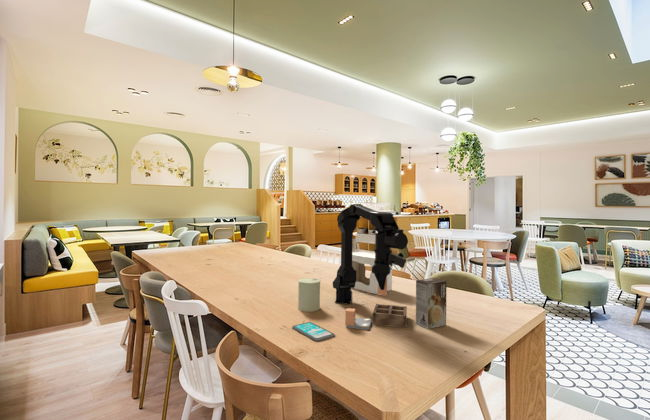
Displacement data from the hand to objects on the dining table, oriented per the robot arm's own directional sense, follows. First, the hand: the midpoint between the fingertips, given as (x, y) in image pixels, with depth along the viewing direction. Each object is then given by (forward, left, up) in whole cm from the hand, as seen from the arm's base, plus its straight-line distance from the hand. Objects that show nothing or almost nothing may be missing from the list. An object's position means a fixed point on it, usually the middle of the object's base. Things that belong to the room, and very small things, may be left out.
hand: (382, 288), depth 121 cm
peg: (0, 0, -2) cm, 2 cm away
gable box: (-12, +49, -13) cm, 51 cm away
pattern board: (-8, -5, -12) cm, 16 cm away
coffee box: (+17, +3, -13) cm, 22 cm away
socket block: (+3, +3, -12) cm, 13 cm away
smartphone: (-22, -16, -13) cm, 30 cm away
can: (-31, +8, -13) cm, 34 cm away
